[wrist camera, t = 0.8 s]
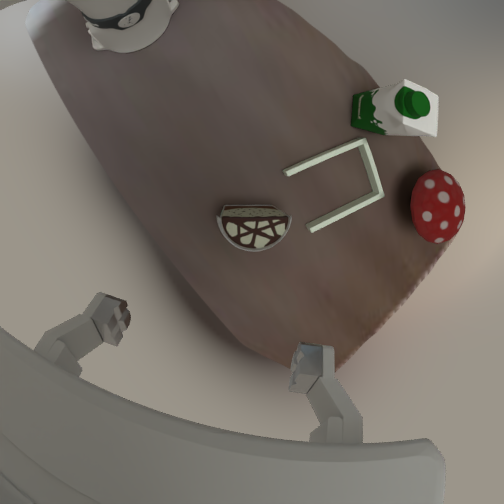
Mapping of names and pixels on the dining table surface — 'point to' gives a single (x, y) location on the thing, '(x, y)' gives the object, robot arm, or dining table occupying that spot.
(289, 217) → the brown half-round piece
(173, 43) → the dining table surface
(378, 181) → the pale green u-shaped frame
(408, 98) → the milk carton
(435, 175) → the decorative mushroom
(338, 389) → the robot arm
